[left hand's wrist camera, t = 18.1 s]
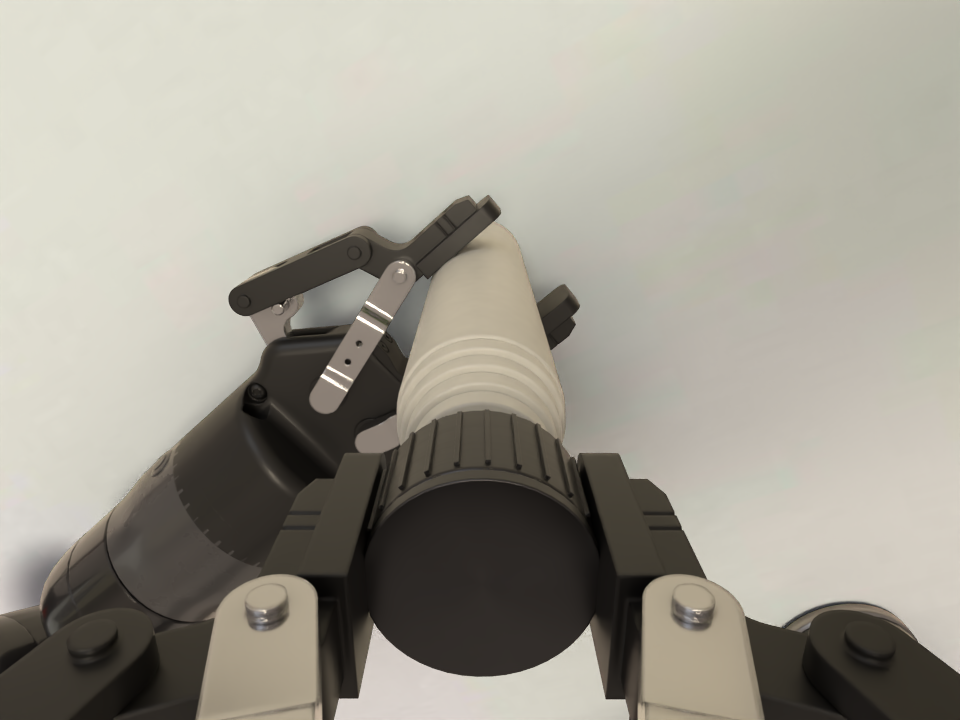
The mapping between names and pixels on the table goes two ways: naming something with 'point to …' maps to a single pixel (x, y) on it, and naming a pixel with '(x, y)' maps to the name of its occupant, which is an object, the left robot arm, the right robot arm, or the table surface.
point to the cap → (481, 546)
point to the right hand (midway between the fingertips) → (533, 252)
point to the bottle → (481, 343)
